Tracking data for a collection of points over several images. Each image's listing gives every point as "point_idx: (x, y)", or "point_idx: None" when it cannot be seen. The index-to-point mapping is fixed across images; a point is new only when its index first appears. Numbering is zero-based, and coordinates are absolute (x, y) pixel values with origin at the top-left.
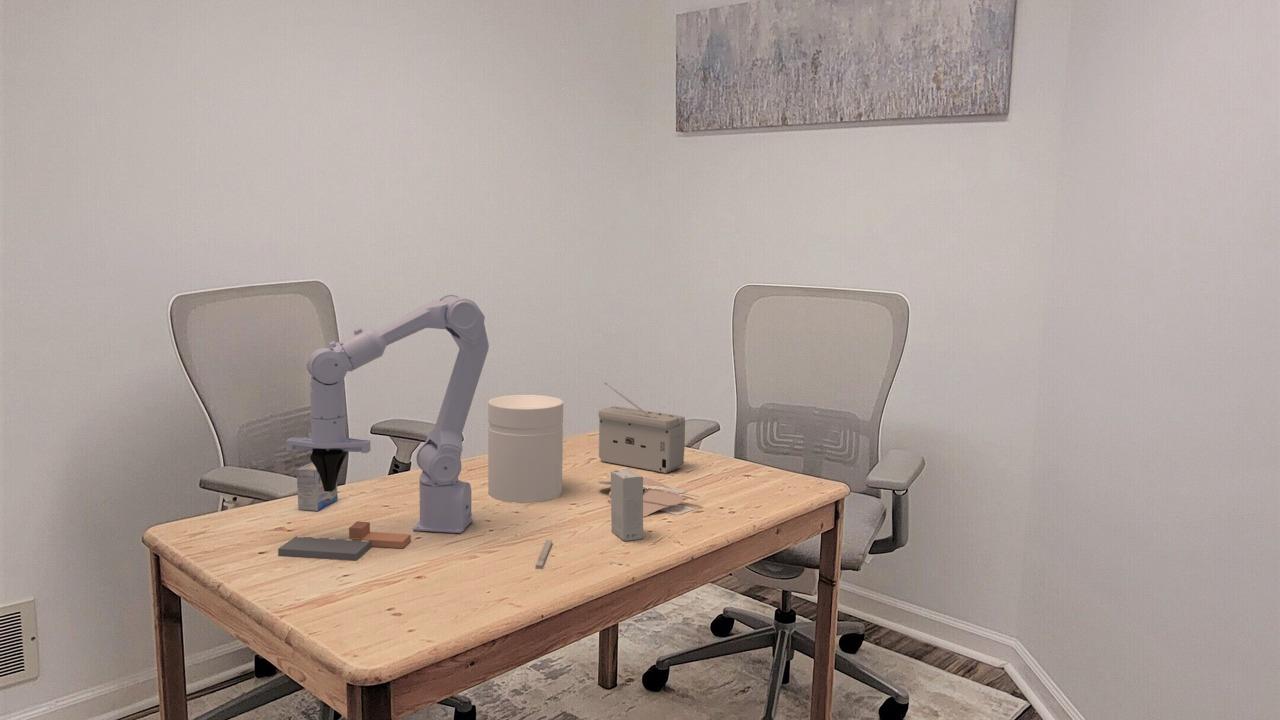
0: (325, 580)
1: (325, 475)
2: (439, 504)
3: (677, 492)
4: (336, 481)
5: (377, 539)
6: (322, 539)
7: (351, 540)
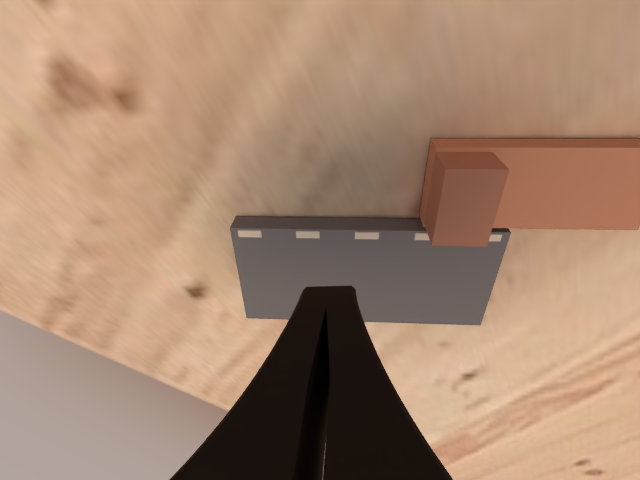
0: (430, 396)
1: (322, 453)
2: None
3: None
4: (361, 317)
5: (535, 222)
6: (334, 242)
7: None
